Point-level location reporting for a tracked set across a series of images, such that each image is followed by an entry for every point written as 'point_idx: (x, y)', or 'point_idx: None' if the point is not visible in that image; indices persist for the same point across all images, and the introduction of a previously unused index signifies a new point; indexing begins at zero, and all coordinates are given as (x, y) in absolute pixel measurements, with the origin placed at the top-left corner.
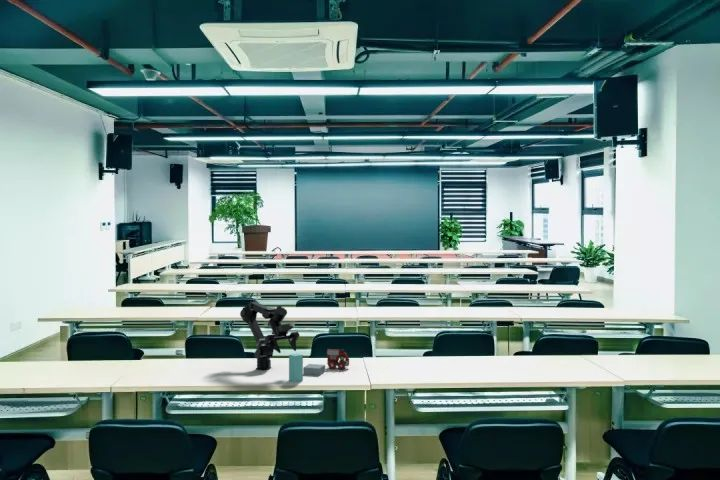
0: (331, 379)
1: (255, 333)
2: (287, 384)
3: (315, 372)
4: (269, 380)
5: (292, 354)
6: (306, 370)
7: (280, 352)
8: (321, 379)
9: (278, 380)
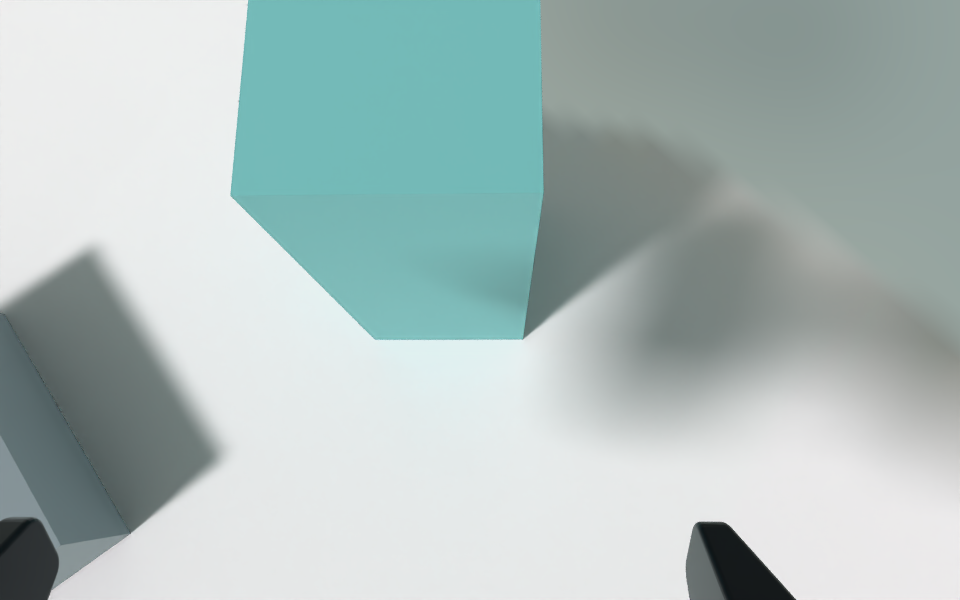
0: (50, 40)
1: None
2: (664, 147)
3: (5, 359)
4: (781, 510)
5: (454, 136)
6: (64, 489)
7: (700, 528)
8: (144, 112)
9: (661, 422)
